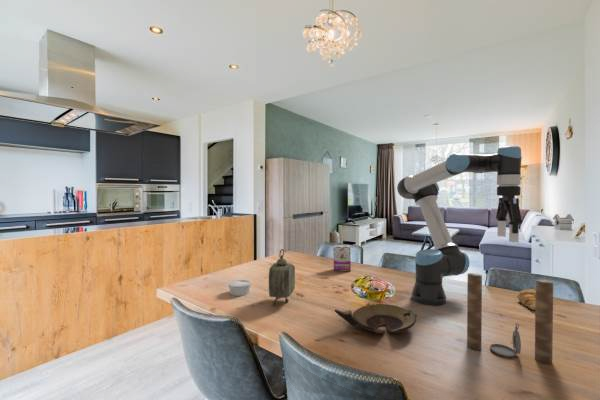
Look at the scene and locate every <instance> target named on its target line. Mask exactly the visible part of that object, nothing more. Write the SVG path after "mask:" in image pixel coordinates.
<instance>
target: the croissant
mask: <svg viewBox="0 0 600 400" xmlns="http://www.w3.org/2000/svg"><path fill="white" fill-rule="evenodd" d="M535 295H536V288H526V289H522V290H521V291H519V292H518V293H517V295H516V296H517V297H516V298H517V299H518V301H519V302H520V303H521V304H523V305H524V306H526V307H527V308H529V309H530V310H533V311H535Z"/></svg>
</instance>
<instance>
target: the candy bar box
mask: <svg viewBox="0 0 600 400" xmlns="http://www.w3.org/2000/svg"><path fill="white" fill-rule="evenodd" d="M351 265H352V263H351V245H333V271H334V270H352V269H351V268H352V267H351Z"/></svg>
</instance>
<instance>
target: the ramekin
mask: <svg viewBox="0 0 600 400" xmlns="http://www.w3.org/2000/svg"><path fill="white" fill-rule="evenodd" d="M251 286H252V282H251V281H250V280H246V279H237V280H232V281H230V282H229V283H228V288H229V293H230V294H231V296H234V297H242V296H246V295H248V294H249V293H250V289H251Z"/></svg>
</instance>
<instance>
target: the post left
mask: <svg viewBox="0 0 600 400" xmlns="http://www.w3.org/2000/svg"><path fill="white" fill-rule="evenodd" d="M482 275H483V274H478V273H472V272H471V273H470V272H469V273H467V291H466V292H467V295H466V296H467V298H466V299H467V304H466V305H467V306H466V307H467V310H466V311H467V312H466V313H467V316H466V322H467V323H466V346H467V348H468V349H471V351H481V350H482V333H483V332H482V328H483V327H482V321H483V319H482V317H483V316H482V315H483V314H482V311H483V308H482V307H483V306H482V304H483V276H482Z"/></svg>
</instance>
